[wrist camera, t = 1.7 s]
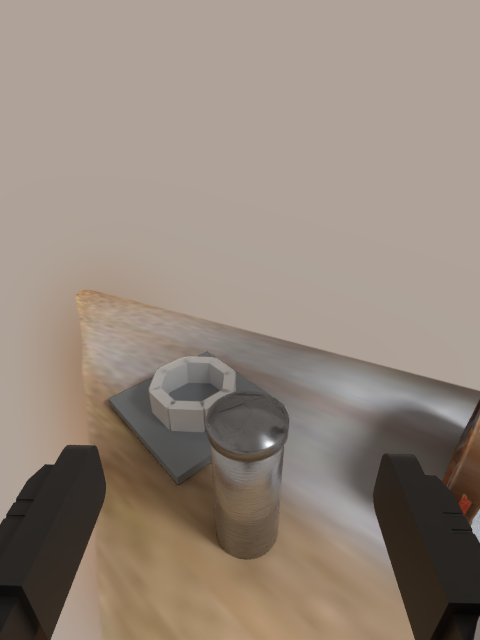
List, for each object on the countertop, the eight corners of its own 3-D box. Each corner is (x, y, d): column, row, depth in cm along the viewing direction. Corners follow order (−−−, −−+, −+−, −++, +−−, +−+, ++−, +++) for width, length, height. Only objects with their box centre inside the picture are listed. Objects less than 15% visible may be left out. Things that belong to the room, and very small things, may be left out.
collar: (207, 357, 51) (206, 332, 49) (283, 411, 42) (285, 383, 40) (110, 405, 43) (103, 377, 41) (178, 485, 34) (173, 454, 32)
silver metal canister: (248, 485, 34) (249, 380, 28) (294, 529, 30) (306, 420, 24) (200, 524, 31) (189, 415, 25) (244, 578, 27) (244, 466, 21)
